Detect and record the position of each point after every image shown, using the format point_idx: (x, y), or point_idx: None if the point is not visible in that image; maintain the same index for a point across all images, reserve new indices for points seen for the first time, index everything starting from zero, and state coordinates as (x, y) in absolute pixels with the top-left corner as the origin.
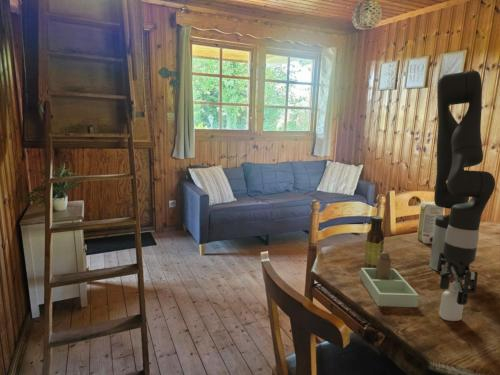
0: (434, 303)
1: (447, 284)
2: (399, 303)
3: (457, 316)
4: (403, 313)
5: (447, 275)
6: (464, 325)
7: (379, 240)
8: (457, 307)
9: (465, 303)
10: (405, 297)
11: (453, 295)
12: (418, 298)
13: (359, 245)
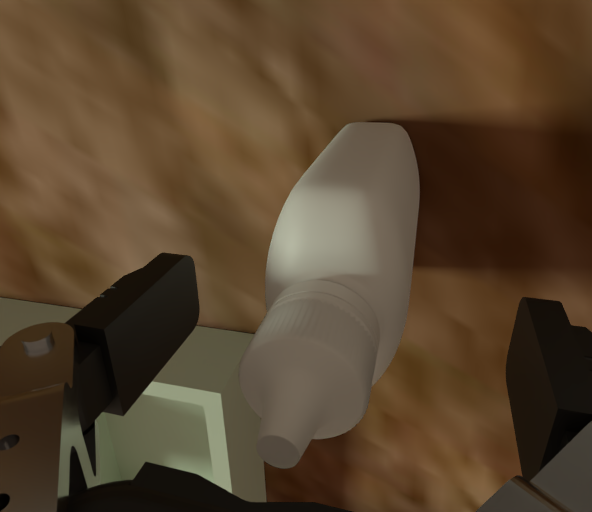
0: (189, 195)
1: (165, 294)
2: (253, 438)
3: (418, 186)
4: (329, 438)
5: (82, 377)
6: (479, 145)
7: None
8: (414, 233)
9: (586, 337)
10: (236, 449)
11: (388, 350)
12: (230, 375)
13: None
